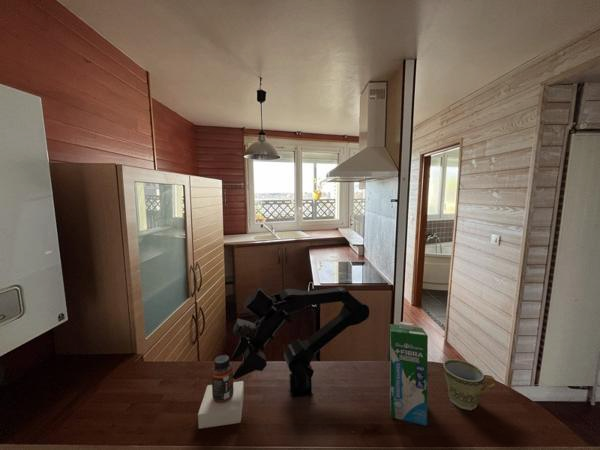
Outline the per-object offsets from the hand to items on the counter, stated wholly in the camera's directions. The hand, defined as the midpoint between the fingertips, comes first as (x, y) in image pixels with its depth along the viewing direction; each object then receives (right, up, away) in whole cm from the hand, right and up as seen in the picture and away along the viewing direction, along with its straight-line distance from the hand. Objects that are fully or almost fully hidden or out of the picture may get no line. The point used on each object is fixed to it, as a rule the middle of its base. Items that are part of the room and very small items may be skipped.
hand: (233, 368), depth 71 cm
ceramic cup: (+70, -11, 0) cm, 71 cm away
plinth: (-3, -12, 0) cm, 12 cm away
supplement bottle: (-3, -8, 0) cm, 9 cm away
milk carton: (+51, -11, -2) cm, 52 cm away
